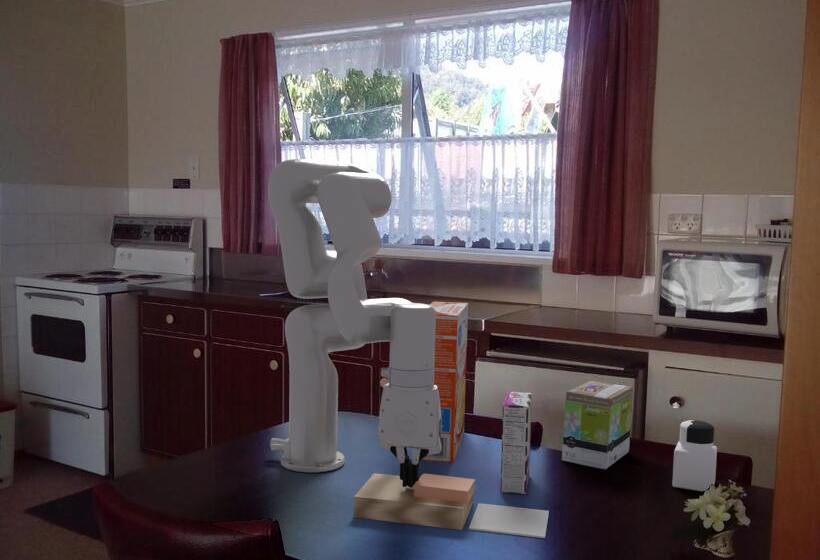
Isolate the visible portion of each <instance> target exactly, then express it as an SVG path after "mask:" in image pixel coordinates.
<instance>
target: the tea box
mask: <svg viewBox="0 0 820 560" xmlns="http://www.w3.org/2000/svg"><path fill="white" fill-rule="evenodd" d="M633 390H634V387H633V386H629V385H622V384H615V383H609V382H602V381H596V380H589V381H587V382H585V383H582V384H580V385H578V386H576V387H573V388H571V389H569V390H567V391H566V392H565V394H566V395H565V409H564V419H563V420H564V423H563V441H562V448H561V449H562V451H561V453H562V454H561V461H564V462H569V463H573V464H576V465H577V464H578V465H581V466H587V467H592V468H596V469H602V470H607V469H608V468H609V467H611V466H612V465H613V464H615V463H616V462H617V461H619V460H620V459H621V458H622V457H624V456H625V455H626V454H628V453H629V452H630V451H629V450H630V438H631V424H632V412H633V411H632V410H633V409H632V408H633V395H634V391H633Z"/></svg>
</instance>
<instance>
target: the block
mask: <svg viewBox="0 0 820 560" xmlns="http://www.w3.org/2000/svg"><path fill="white" fill-rule="evenodd" d="M475 491H476V479H474V478H465V477H460V476H459V477H457V476H449V475H440V474H431V473H426V472H425V473H422V474H421V476H419V480H418V481H417V482H416V484H415V485H414V497H421V498H429V499H437V500H445V501H453V502H461V503H468V502H469V500H470V499H471V497H472V495H473V493H474V494H475Z"/></svg>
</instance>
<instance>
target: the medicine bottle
mask: <svg viewBox="0 0 820 560" xmlns="http://www.w3.org/2000/svg"><path fill="white" fill-rule="evenodd" d="M714 438H715V427H714V426H713V425H712V424H710V423H708V422H706V421H703V420H694V419H693V420H692V419H690V420H685V421H683V422H681V423H680V424H679V441H678V442H677V444H676V446H675V448H674V451H673V464H672V465H673V466H672V483H671V484H672V487H673V488H679V489H684V490H690V491H691V490H692V491H698V492H703V491H705V490H706V489H708V488H709V486H710V485H711V484H713V485H714V486H715V483H716V476H717V475H716V472H717V470H716V469H717V454H718V453H717V452H718V447H717V446H716V445H714V442H715V441H714V440H715V439H714Z"/></svg>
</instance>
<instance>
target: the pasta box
mask: <svg viewBox="0 0 820 560" xmlns="http://www.w3.org/2000/svg"><path fill="white" fill-rule="evenodd" d="M428 305H430V306H432V307H433V308H434V310H435V314H436V323H435V363H434V385H437V387H438V391H439V398H440V408H441V439H440V441H441V446H442V450H441V452H440V453H438V454H431V455H426V456H425V457H424V458H423V459H422V460H426V462H435V461H437V462H439V463H448V464H449V463H451V464H453V463H454V462H455V459H456V456H457V454H456V453H458V451H457V450H459V448H458V447H460V445H461V443H462V439H463V436H464V434H463V433H465V419H466V418H465V417H466V416H465V413H466V410H465V409H466V387H467V386H466V383H467V382H466V380H467V379H466V378H467V350H468V349H467V347H468V324H469V323H468V322H469V321H468V318H469V316H468V315H469V303H468V302H453V301H452V302H451V301H432V302H431V303H429V304H428ZM461 438H462V439H461ZM459 444H460V445H459ZM422 460H421V461H422Z"/></svg>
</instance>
